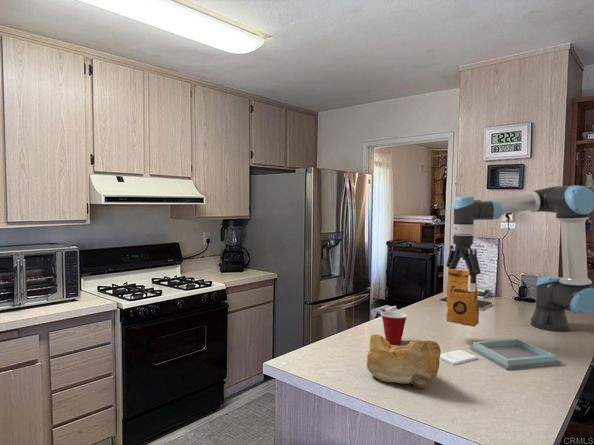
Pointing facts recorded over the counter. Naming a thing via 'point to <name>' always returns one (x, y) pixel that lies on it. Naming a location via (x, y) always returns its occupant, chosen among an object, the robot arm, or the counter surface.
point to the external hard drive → (457, 357)
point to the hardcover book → (481, 304)
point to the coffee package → (461, 299)
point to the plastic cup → (393, 326)
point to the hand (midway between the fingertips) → (462, 287)
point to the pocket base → (514, 354)
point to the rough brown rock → (403, 361)
